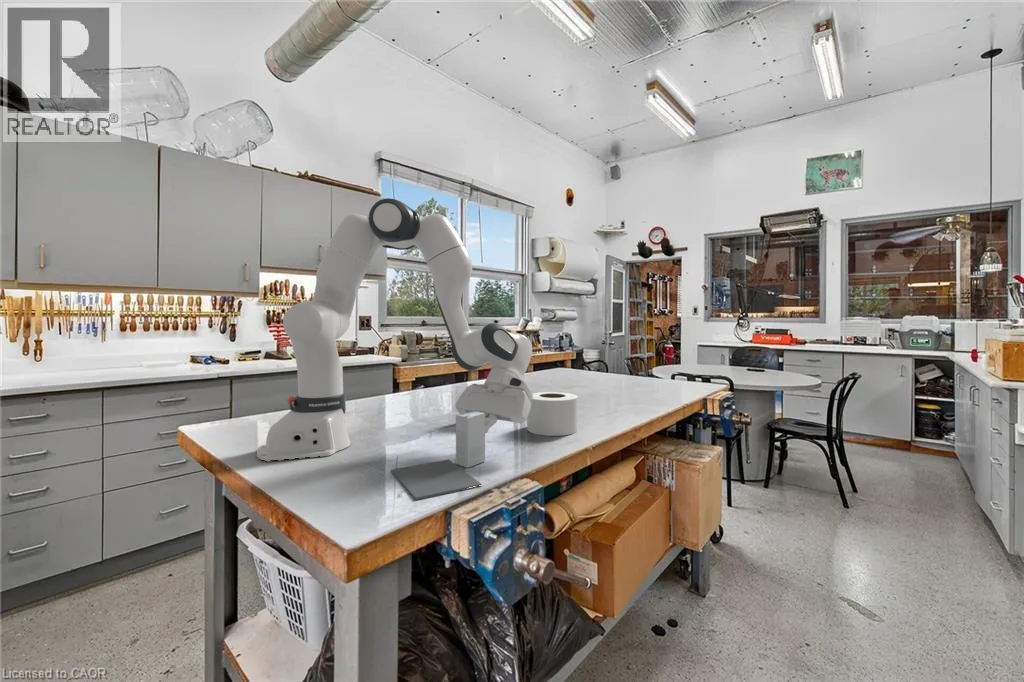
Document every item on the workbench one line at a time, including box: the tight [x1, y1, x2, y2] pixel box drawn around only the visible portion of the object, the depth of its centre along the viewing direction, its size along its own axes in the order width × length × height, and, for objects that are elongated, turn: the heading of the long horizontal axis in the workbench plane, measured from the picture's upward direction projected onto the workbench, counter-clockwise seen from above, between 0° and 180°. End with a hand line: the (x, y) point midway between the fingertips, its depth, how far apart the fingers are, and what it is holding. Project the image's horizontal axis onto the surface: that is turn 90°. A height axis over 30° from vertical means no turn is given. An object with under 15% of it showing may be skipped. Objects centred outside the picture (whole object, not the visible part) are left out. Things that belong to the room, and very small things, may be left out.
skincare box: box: [455, 411, 486, 468], centre depth 106 cm, size 6×4×12 cm
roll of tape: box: [526, 391, 578, 437], centre depth 137 cm, size 16×15×11 cm
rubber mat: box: [390, 458, 482, 501], centre depth 97 cm, size 14×18×1 cm
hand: (480, 431), depth 110 cm, fingers closed
